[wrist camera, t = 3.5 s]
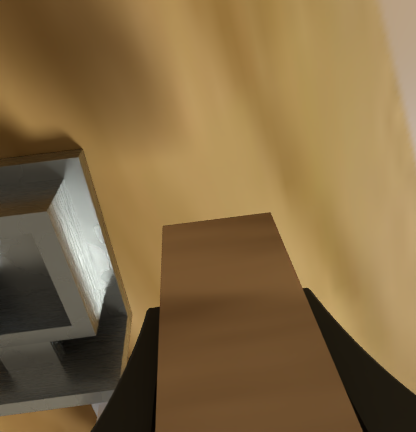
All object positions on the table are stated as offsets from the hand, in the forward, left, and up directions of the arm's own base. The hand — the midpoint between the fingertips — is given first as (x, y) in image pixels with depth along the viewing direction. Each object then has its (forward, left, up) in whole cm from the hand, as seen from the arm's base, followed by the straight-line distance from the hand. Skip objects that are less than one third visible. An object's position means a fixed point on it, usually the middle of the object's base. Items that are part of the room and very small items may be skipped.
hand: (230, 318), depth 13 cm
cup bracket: (-2, +11, -9) cm, 14 cm away
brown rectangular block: (0, 0, -3) cm, 3 cm away
